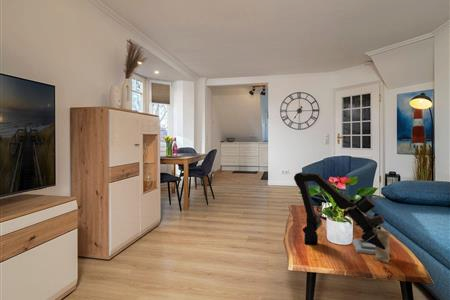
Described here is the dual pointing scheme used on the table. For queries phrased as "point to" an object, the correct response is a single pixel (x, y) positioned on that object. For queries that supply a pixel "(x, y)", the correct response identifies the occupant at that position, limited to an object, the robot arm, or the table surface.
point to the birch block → (384, 238)
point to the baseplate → (364, 246)
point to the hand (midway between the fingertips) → (385, 245)
